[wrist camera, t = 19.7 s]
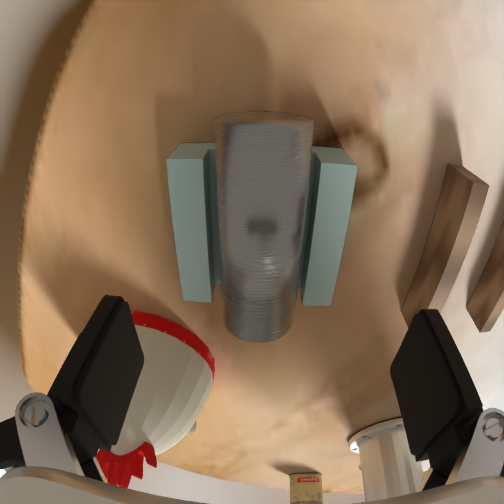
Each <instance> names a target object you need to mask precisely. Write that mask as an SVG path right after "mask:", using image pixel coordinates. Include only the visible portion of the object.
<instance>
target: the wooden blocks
mask: <svg viewBox="0 0 504 504" xmlns="http://www.w3.org/2000/svg"><path fill="white" fill-rule="evenodd" d="M488 188H489V185H488V184H486V183H485V182H484V181H482V180H481V179H480V178H478V177H477V176H476V175H474V174H473V173H471V172H470V171H469V170H467V169H466V168H464V167H462V166H457V165H452V164H448V166H447V170H446V175H445V179H444V183H443V187H442V191H441V195H440V199H439V202H438V206H437V210H436V213H435V217H434V220H433V224H432V227H431V230H430V233H429V237H428V240H427V243H426V246H425V249H424V252H423V255H422V258H421V261H420V264H419V266H418V269H417V272H416V275H415V277H414V280H413V283H412V285H411V288H410V291H409V293H408V296H407V298H406V301H405V303H404V306H403V308H402V311H401V312H402V314H403V316H404V319H405V321H406V324H407V326H408V328H409V326H410V324H411V322H412V319H413V317H414V315H415V314H418V312H419V311H420V310H421V309H437V310H438V311H439V313H440V312H441V310H442V308H443V306H444V304H445V302H446V300H447V298H448V296H449V294H450V292H451V289H452V287H453V285H454V283H455V280H456V278H457V276H458V273H459V271H460V269H461V266H462V264H463V261H464V259H465V256H466V254H467V251H468V249H469V246H470V243H471V241H472V238H473V235H474V232H475V230H476V227H477V224H478V221H479V218H480V215H481V212H482V208H483V205H484V202H485V199H486V195H487V192H488ZM466 309H467V311H468V312H469V314H470V316H471V318H472V319H473V321H474V323H475V325H476V327H477V328H478V330H479V332H488V331H490V330H491V329H492V327H493V326H494V324H495V322H496V321H497V319H498V317H499V315H500V314H501V312H502V310H503V309H504V222H503V225H502V228H501V230H500V233H499V236H498V238H497V241H496V243H495V246H494V248H493V251H492V253H491V256H490V258H489V261H488V263H487V265H486V267H485V270H484V272H483V274H482V276H481V278H480V281H479V283H478V285H477V287H476V289H475V291H474V293H473V295H472V297H471V299H470V301H469V303H468V305H467V307H466Z"/></svg>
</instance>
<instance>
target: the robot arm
mask: <svg viewBox="0 0 504 504" xmlns="http://www.w3.org/2000/svg"><path fill="white" fill-rule="evenodd" d="M143 365H144V354H143V351H142V348H141V344H140V341H139V338H138V335H137V332H136V328H135V325H134V322H133V318H132V315H131V311H130V308H129V304H128V302H125V301H124V299H123V298H122V297H120V296H110V295H105V296H104V297H103V298H102V300H101V302H100V303H99V305H98V306H97V308H96V310H95V311H94V313H93V315H92V316H91V318H90V320H89V322H88V323H87V325H86V327H85V328H84V330H83V332H81V334H80V335H79V336H78V338H77V340H76V342H75V343H74V345H73V347H72V349H71V351H70V352H69V354H68V356H67V358H66V360H65V362H64V363H63V365H62V367H61V369H60V371H59V373H58V375H57V377H56V379H55V381H54V382H53V384H52V386H51V388H50V390H49V392H48V394H47V395H45V394H43V393H37V392H35V393H30V394H28V395H26V396H25V397H23V398H22V399H21V400H20V402H19V403H18V405H17V407H16V410H15V416H14V417H12V418H10V419H7V420H5V421H3V422H1V423H0V504H206V503H199V502H192V501H185V500H179V499H173V498H168V497H162V496H157V495H153V494H148V493H144V492H140V491H135V490H131V489H127V488H123V487H119V486H116V485H112V484H108V482H107V480H106V478H105V476H104V474H103V472H102V470H101V468H100V465H99V463H98V461H97V459H96V455H97V452H98V449H102V450H105V451H109V452H110V451H111V448H112V445H116V444H117V442H118V439H119V436H120V433H121V430H122V427H123V424H124V421H125V418H126V414H127V411H128V408H129V405H130V402H131V400H132V397H133V394H134V391H135V388H136V385H137V382H138V379H139V376H140V374H141V371H142V368H143ZM390 374H391V378H392V381H393V385H394V388H395V392H396V396H397V400H398V403H399V407H400V411H401V415H402V418H397V419H392V420H388V421H384V422H381V423H378V424H375V425H373V426H370V427H368V428H366V429H363V430H361V431H360V432H358V433H356V434H355V435H354V436H353V437H352V438H351V439H350V440H349V442H348V443H349V449H350V450H351V451H352V452H355V453H359V454H360V461H361V463H360V465H359V469H360V470H361V471H362V477H363V485H364V494H365V502H361V503H354V504H504V412H503V411H501V410H500V409H496V408H489V409H486V410H485V411H483V409H482V406H483V405H482V402H481V400H480V397H479V395H478V392H477V390H476V388H475V385H474V383H473V381H472V378H471V376H470V374H469V372H468V369H467V367H466V365H465V363H464V361H463V358H462V356H461V354H460V352H459V350H458V348H457V346H456V344H455V342H454V340H453V338H452V336H451V334H450V332H449V330H448V328H447V326H446V324H445V322H444V320H443V318H442V317H441V315H440V313H439V311H438V310H437V309H421V310H420V311H419V312H418V314H415V315H414V317H413V319H412V322H411V324H410V326H409V328H408V331H407V333H406V335H405V337H404V339H403V342H402V344H401V346H400V348H399V350H398V352H397V354H396V356H395V358H394V360H393V362H392V365H391V368H390ZM428 459H429V462H430V468H429V470H428V472H427V474H426V475H425V477H424V475H423V470H422V466H421V461H423V460H428Z"/></svg>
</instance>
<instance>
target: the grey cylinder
mask: <svg viewBox="0 0 504 504" xmlns="http://www.w3.org/2000/svg"><path fill="white" fill-rule="evenodd" d="M313 132H314V120H312V119H310V118H308V117H305V116H301V115H296V114H290V113H282V112H270V111H245V112H234V113H227V114H223V115H219V116H217V117H215V160H216V190H217V215H218V237H219V257H220V275H221V292H222V307H223V320H224V324H225V326H226V328H227V329H228V330H229V331H230V332H231V333H232V334H233V335H235V336H236V337H238V338H240V339H242V340H245V341H249V342H269V341H273V340H275V339H278V338H280V337H282V336H283V335H284V334H286V333H287V332H288V330H289V329H290V328H291V326H292V323H293V317H294V310H295V303H296V295H297V288H298V280H299V272H300V264H301V256H302V248H303V239H304V230H305V221H306V211H307V201H308V191H309V181H310V169H311V158H312V145H313Z"/></svg>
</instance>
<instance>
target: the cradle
mask: <svg viewBox="0 0 504 504" xmlns="http://www.w3.org/2000/svg"><path fill="white" fill-rule="evenodd" d="M166 163H167V175H168V185H169V196H170V205H171V214H172V223H173V231H174V239H175V247H176V255H177V262H178V269H179V276H180V283H181V289H182V296H183V301H192V302H210V303H212V298H213V293H214V288H215V284H221V275H220V257H219V237H218V215H217V190H216V160H215V143H181V144H180V145H179V146H178V147H177V148H176V150H175V151H174V152H173V153H172V154H171V155H170V156H169V157H168V158H167V159H166ZM356 172H357V165H356V163H355V162H354V161H353V160H352V159H351V158H350V156H349V155H348V154H347V153H346V152H345V151H344V149H341V148H331V147H318V146H312V158H311V169H310V181H309V191H308V201H307V211H306V221H305V230H304V239H303V248H302V256H301V264H300V272H299V280H298V287H300V291H301V299H302V306H331V302H332V298H333V294H334V289H335V285H336V280H337V276H338V271H339V266H340V262H341V257H342V252H343V247H344V242H345V237H346V232H347V226H348V221H349V215H350V210H351V204H352V198H353V192H354V185H355V179H356Z"/></svg>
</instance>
